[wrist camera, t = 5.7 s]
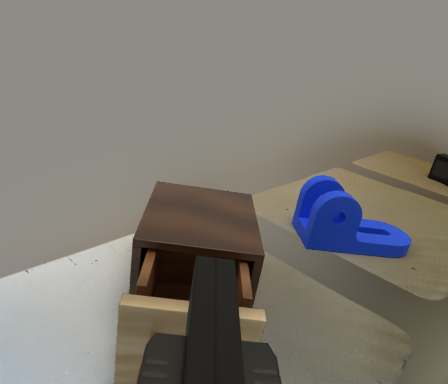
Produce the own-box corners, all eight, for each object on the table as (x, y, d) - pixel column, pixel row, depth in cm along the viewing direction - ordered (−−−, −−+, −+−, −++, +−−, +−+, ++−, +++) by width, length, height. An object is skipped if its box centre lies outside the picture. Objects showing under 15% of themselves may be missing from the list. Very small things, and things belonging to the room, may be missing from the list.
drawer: (251, 453, 25) (275, 371, 22) (97, 440, 24) (100, 353, 21) (238, 294, 40) (251, 233, 37) (143, 283, 40) (149, 220, 37)
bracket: (306, 249, 54) (321, 193, 50) (292, 222, 62) (305, 172, 58) (417, 259, 56) (439, 207, 53) (390, 232, 64) (408, 185, 60)
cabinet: (245, 337, 36) (265, 255, 32) (126, 324, 35) (132, 238, 31) (237, 259, 48) (251, 194, 45) (150, 248, 47) (156, 181, 44)
